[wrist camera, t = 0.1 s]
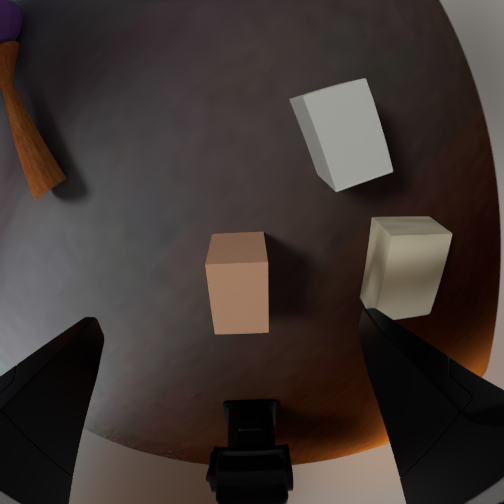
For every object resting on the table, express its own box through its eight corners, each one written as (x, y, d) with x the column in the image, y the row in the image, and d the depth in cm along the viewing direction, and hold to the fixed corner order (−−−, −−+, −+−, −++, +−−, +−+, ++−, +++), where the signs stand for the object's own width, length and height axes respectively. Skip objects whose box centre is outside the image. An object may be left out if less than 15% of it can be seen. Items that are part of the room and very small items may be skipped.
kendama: (11, 217, 18) (-49, 35, 8) (52, 186, 23) (-5, 27, 13) (46, 192, 16) (-18, -12, 6) (92, 162, 21) (29, -12, 11)
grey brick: (364, 157, 21) (393, 171, 16) (317, 174, 22) (336, 192, 17) (339, 83, 18) (365, 78, 14) (289, 99, 19) (302, 95, 14)
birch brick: (411, 290, 27) (429, 314, 23) (359, 295, 27) (373, 322, 23) (428, 215, 23) (452, 233, 20) (370, 216, 23) (391, 235, 20)
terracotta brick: (264, 294, 26) (268, 332, 22) (219, 296, 26) (214, 334, 22) (263, 231, 24) (267, 261, 19) (212, 233, 23) (205, 264, 19)
